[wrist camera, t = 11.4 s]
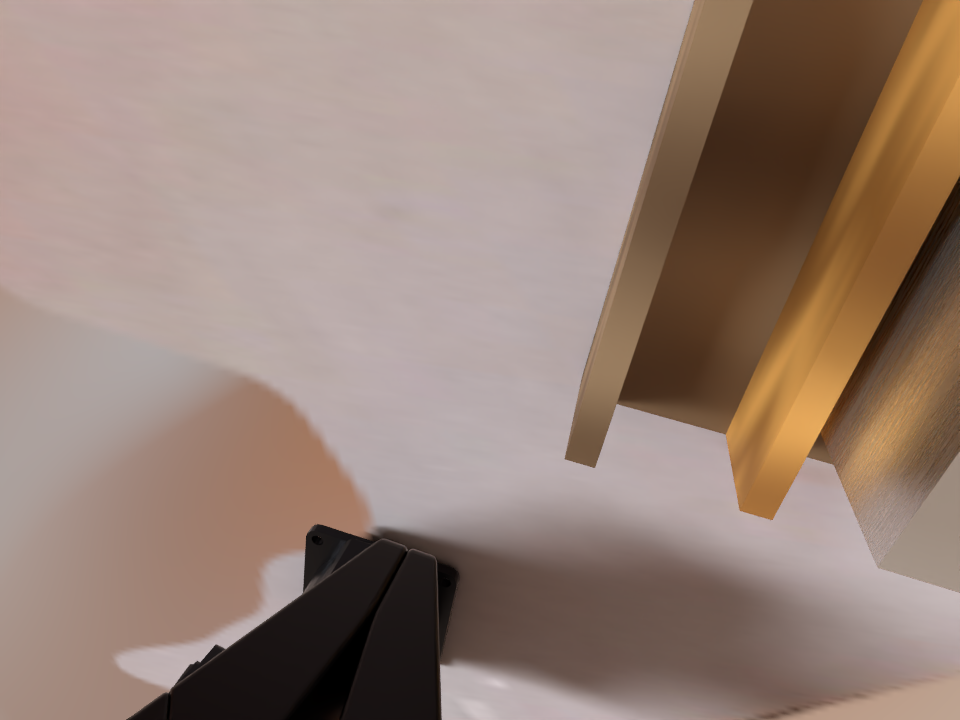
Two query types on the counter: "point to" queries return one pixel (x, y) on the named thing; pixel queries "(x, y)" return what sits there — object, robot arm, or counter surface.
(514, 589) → the counter surface
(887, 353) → the aluminium panel
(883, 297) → the walnut rack
